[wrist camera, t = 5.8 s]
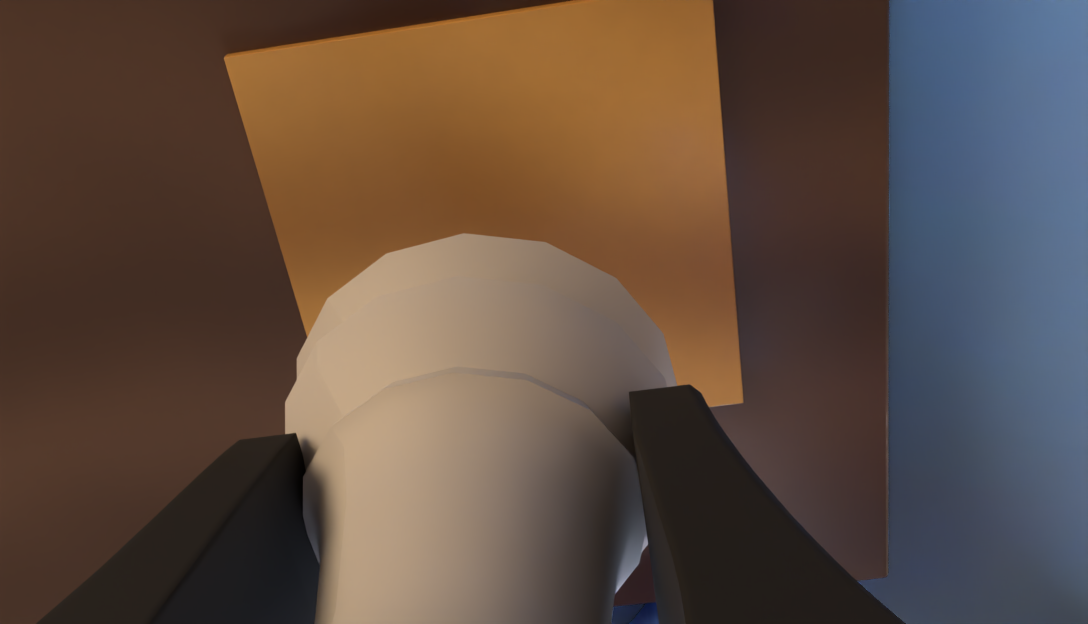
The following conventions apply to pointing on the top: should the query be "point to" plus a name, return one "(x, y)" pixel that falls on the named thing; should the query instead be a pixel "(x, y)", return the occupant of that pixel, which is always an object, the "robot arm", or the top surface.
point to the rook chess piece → (474, 436)
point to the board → (426, 227)
